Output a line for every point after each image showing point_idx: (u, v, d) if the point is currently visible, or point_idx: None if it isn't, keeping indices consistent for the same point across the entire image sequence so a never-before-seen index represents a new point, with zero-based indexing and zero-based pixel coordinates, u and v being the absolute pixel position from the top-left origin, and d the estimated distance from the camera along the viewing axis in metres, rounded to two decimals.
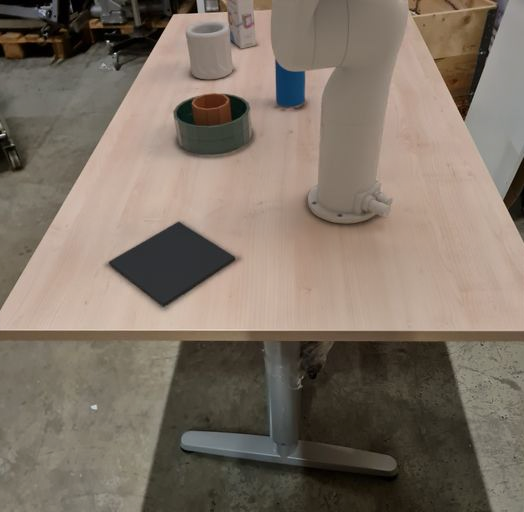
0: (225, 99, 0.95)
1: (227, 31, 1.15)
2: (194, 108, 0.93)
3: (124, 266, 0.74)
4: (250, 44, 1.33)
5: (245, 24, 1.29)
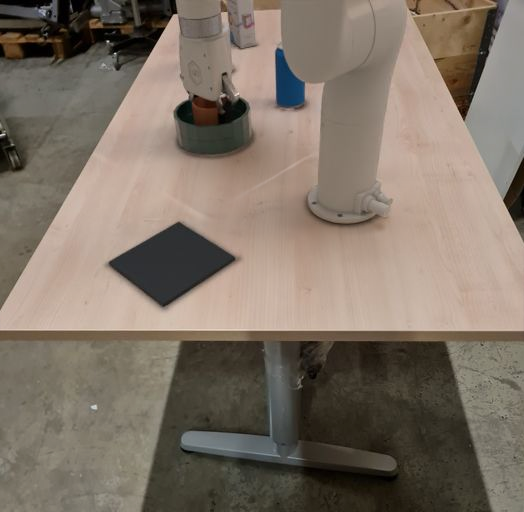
0: None
1: (227, 31, 1.15)
2: (194, 108, 0.93)
3: (124, 266, 0.74)
4: (250, 44, 1.33)
5: (245, 24, 1.29)
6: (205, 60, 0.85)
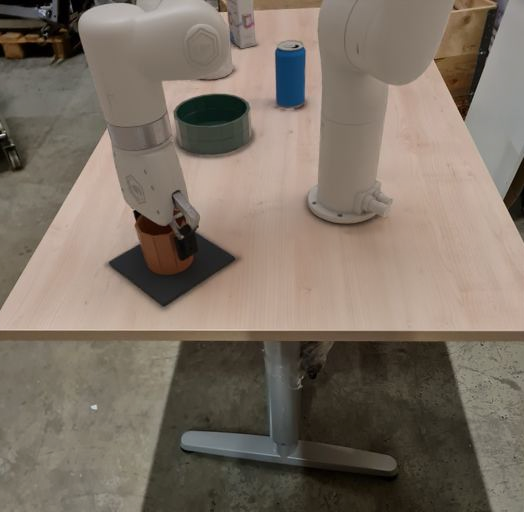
0: None
1: None
2: (138, 232, 0.68)
3: (124, 266, 0.74)
4: (250, 44, 1.33)
5: (245, 24, 1.29)
6: (147, 177, 0.59)
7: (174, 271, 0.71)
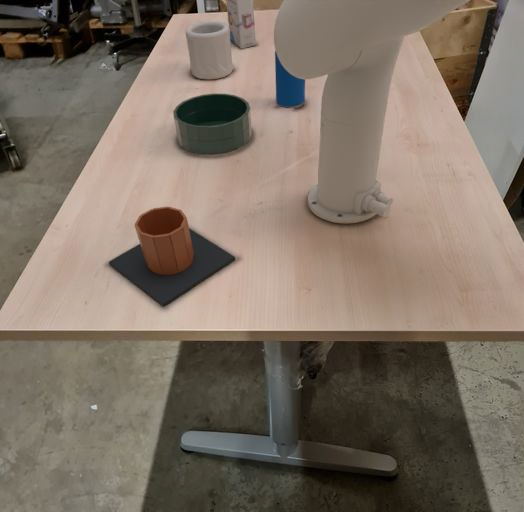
0: (182, 217, 0.70)
1: (227, 31, 1.15)
2: (138, 232, 0.68)
3: (124, 266, 0.74)
4: (250, 44, 1.33)
5: (245, 24, 1.29)
6: None
7: (174, 271, 0.71)
